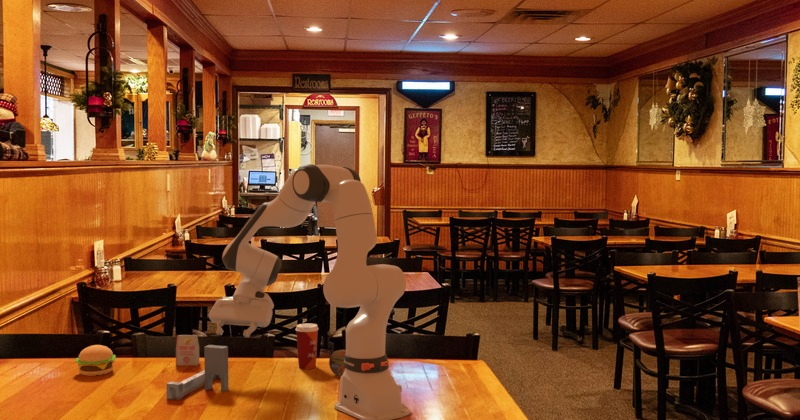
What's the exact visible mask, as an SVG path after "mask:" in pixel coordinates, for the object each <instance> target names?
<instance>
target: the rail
mask: <svg viewBox="0 0 800 420" xmlns="http://www.w3.org/2000/svg"><path fill="white" fill-rule="evenodd" d="M219 379H220V380H221V375H216V374H212V382H213V381H215V380H219ZM204 386H205V369H203V370H202V371H200V372H198V373H196V374H193V375H192V376H190V377H188V378H185V379H183V380H182V381H169V382H167V383H166V400H172V401H173V400H174V401H175V400H176V401H181V400H182V399H184V397H185V396H186V395H188V394H190V393H192V392H193V391H195V390H198V389H199V388H201V387H204Z"/></svg>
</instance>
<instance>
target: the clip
mask: <svg viewBox="0 0 800 420" xmlns="http://www.w3.org/2000/svg"><path fill="white" fill-rule="evenodd" d="M203 349H204V354H203V355H204V358H203V359H204V370H205V385H204V390H205V391H209V390H211V389H213V381H212V374H216V375H221V378H220V392H223V393H225V392H226V391H228V390H229V346H227V345H215V344H208V345H206V346H204V347H203Z"/></svg>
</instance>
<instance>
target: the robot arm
mask: <svg viewBox="0 0 800 420" xmlns="http://www.w3.org/2000/svg"><path fill="white" fill-rule="evenodd" d="M369 197H370V196H369V194H368V191H367V189H366V187H365V184H364V183H362V180H361V177H360V175H359V174H358V172H357V171H356V170H354V169H352V168H350V167H347V166H338V165H331V164H311V163H309V164H304V165H302V166H299V167H298V168H296V169H294V170H293V171H292V173H290V175H289V176H288V178H287V179H286V180H285V182H284V183H283V185H282V187H281V189H280V190H279V193H278V194H277V196H276V197H275V198H274V199H272V200H270V201H269V202H268V201H267V202H263V203H262V204H260V205H259V206H258V207H257V208H256V209H255V211H254V212H253V213H252V215H250V217H249V219H248V220H247V221H246V222H245V224H244V226H242V228H241V229H240V230H239V232H238V233H237V234H236V235H235V237H234V238H233V239H232V240H231V241H230V242H229V243H228V244H227V245H226V247H225V248H224V250H223V252H222V256H221V260H222V263H223V265H224V266H225V269H227V270H230V271H233V272H237V273H239V274H242V275H241V280H240V282H239V283H238V284H237V287H236V289H235V291H234V293H233V295H232V296H222V297H219V298H218V299H216V301H215V303H214V304H213V306H212V308H211V309H210V311H209V313H208V318H209V320H210V321H211V322H212V324H216V327H217V328H216V330H215V334H216V335H217V336H222V335H223V333H224V330H223V328H222V327H223V326H224V325H230V326H231V325H233V326H244V327H245V326H247V327H248V326H249V327H248V328H247V329H244V330H243V334H242V336H243V337H244V338H250V337H251V334H252V333H253V332H254V331H256V330H257V327H260V328H266V327H268V326H269V325H270V323H271V321H272V318H273V309H274V307H275V304H274V302H273V300H272V298H271V297H270V295H269V294H268V293H266V292H265V289H266V288H267V287H269V286H271V285H273V284H274V283H276V281H277V279H278V276H279V273H280V270H281V268H282V262H281V259H280V257H279V256H278V255H276V254H274V253H272V252H270V251H267V250H265V249H262V248H261V247H258V246H256V245H253V244H251V243H250V242H249V241H251V239H252V238H253V237H254V236H255V234H256V233H257V232H258V230H259V229H261V228H264V227H277V228H289V229H290V228H294V227H298V226H299V225H302V224H303V223H304V222H305V221H306V219H307V218H308V216H309V215H310V213H311V211H312V209H313V208H314V205H315V203H325V204H326V203H327V204H329V205H330V206H331V207H332V212H333V220H334V226H335V231H336V239H337V255H336V258H335V259H336V260H335V263H334V264H333V267H332V268H331V270H330V272H329V273H328V274H327V275H326V277H325V278H324V280H323V286H322V291H323V295H324V298H325V299H326V301H327V302H328V304H329V305H330V306H332V307H334V308H340V309H342V308H343V309H350V308H357V307H359V310H358V312H357V313H356V315H355V317H354V318H353V319H351V320H350V321H349V322H348V324H347V325H346V328H345V350H346V353H345V355H344V367H345V371H344V373H343V375H342V376H341V377H339V378H340V379H339V389H338V401H337V402H335V403H334V409H335V410H338V411H341V412H343V413H345V414H347V415H349V416H352V417H354V418H357V419H358V420H395V419H401V418H404V417H407V416H409V415H410V414H411V410H410V408H408V407H407V406H406V404H405V403H404V402H402V392H403V387H402V384H397V383H396V381H395V378H394V377H395V376H392V374H391V371H390V370H389V367H390V366H389V365H390V364H389V363H390V361H389V360H388V354H387V353H386V335H387V325H388V320H389V318H390V315H391V313H392V311H393V308H394V306H395V304H396V303H397V302H398V300H399V299H400V298H401V297H402V296H403V295H404V294H405V291H406V288H407V279H406V275H405V273H404V272H403V270H402V269H401V268H400V267H399V266H397V265H393V264H392V265H391V264H386V263H385V264H384V263H382V264H381V263H380V264H371V265H367V257H368V253H369V252H370V251H371V250H373V248H375V246H376V245H377V242H378V236H377V229H376V224H375V223H376V222H375V219H374V218H375V217H374V213H373V207H372V204H371V199H370V198H369Z"/></svg>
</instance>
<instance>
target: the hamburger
mask: <svg viewBox="0 0 800 420" xmlns="http://www.w3.org/2000/svg"><path fill="white" fill-rule="evenodd" d="M113 353H114V352H113V351H112V350H111V348H109V347H108V346H106V345H101V344H94V345H93V344H92V345H89V346H87V347H85V348H84V349H82V350H81V351H80V353H79V354H78V357H76V358H75V362H76V363H77V369H78V372H79V374H80V375H81V376H82V375H83V376H87V377H97V376H96V375H99V376H103V374H104V375H106V374H107V375H108V374H109V373H111V372H112V371H113V369H114V366H113V363H115V359H116V358H117V357H116V354H113Z"/></svg>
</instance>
